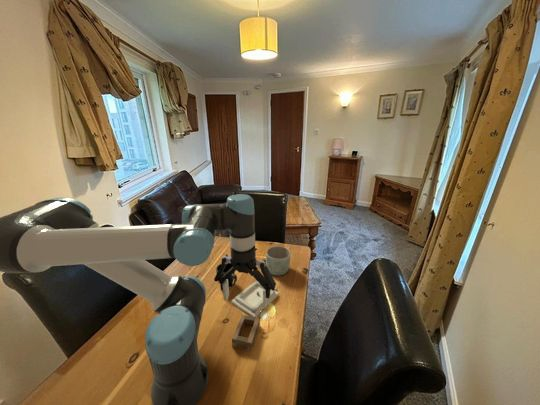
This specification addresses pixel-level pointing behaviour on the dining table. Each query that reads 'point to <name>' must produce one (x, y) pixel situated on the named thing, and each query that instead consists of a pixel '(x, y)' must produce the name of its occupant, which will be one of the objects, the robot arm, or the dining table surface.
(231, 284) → the mug
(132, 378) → the dining table surface
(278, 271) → the planter
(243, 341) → the frame
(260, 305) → the white flat rectangular tray
